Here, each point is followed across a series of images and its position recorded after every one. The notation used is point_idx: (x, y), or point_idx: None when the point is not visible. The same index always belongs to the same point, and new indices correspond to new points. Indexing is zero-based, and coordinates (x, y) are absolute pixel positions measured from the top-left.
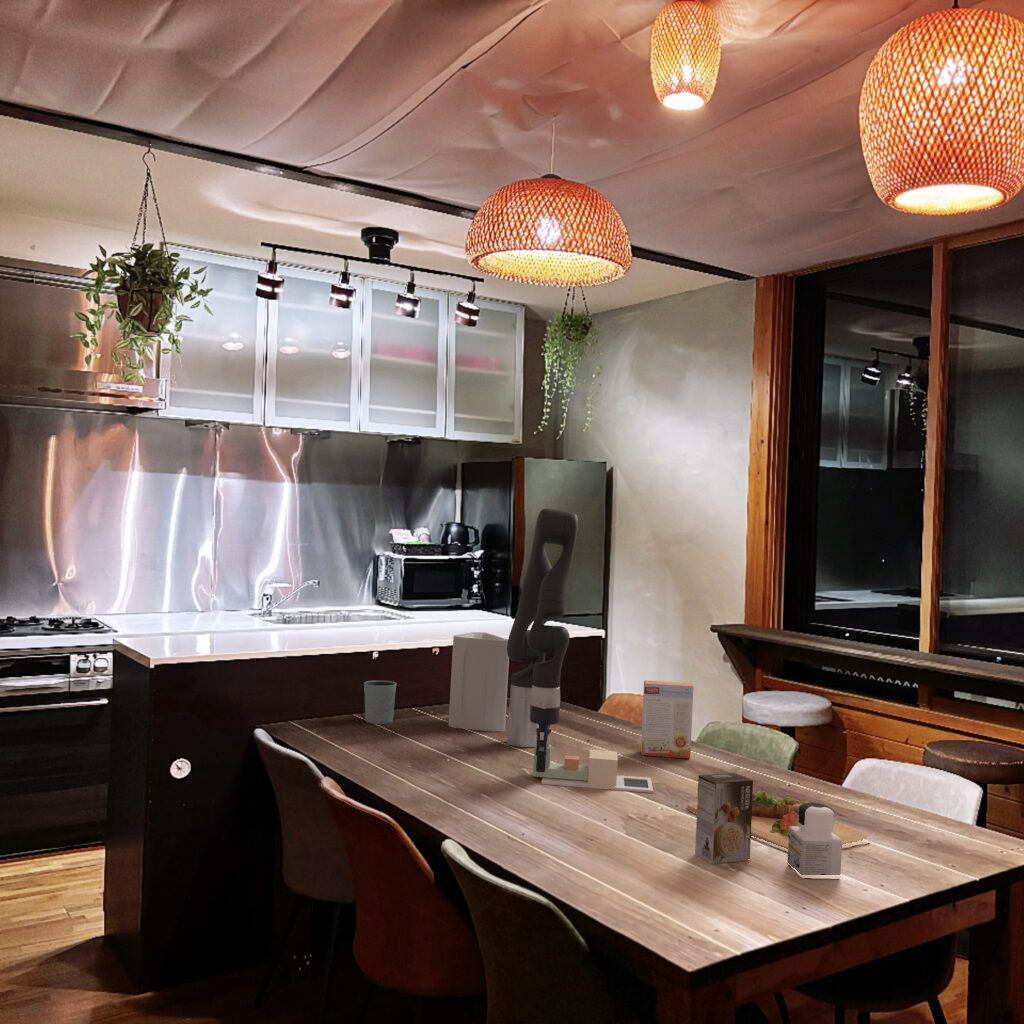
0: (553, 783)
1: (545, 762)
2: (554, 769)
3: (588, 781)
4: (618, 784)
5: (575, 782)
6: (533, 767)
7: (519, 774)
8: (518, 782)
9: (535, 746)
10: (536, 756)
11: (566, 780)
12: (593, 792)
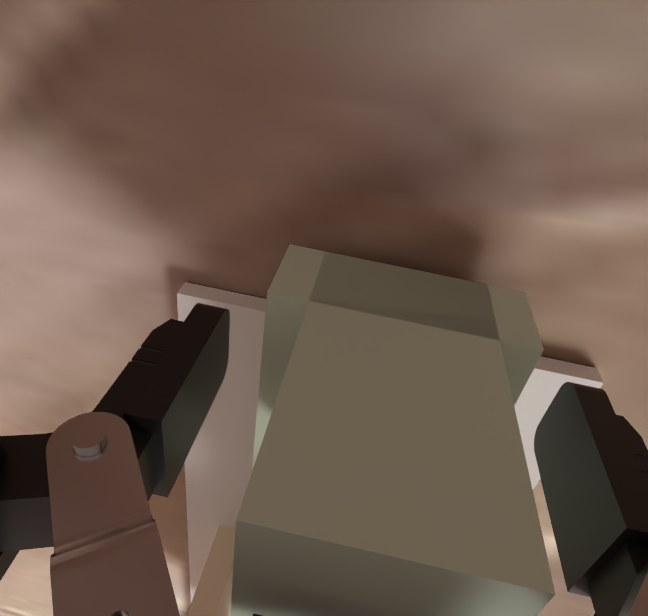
0: None
1: (189, 440)
2: (253, 451)
3: (215, 539)
4: None
5: (225, 482)
6: (270, 294)
7: (512, 110)
8: (171, 67)
9: (118, 539)
10: (95, 412)
11: None
12: None
